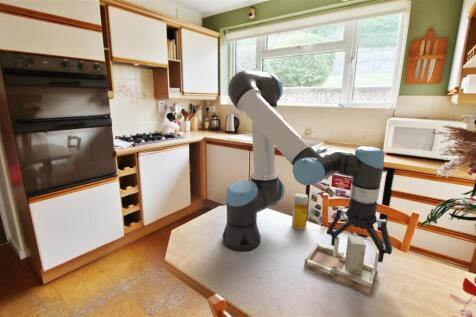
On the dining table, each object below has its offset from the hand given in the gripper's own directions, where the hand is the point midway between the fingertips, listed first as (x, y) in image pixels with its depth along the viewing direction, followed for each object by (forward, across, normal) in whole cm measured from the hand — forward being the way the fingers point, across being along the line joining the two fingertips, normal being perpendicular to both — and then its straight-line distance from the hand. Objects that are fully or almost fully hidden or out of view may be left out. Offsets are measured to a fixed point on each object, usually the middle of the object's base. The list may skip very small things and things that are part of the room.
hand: (354, 261), depth 79 cm
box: (+3, 0, 0) cm, 3 cm away
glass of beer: (+5, -26, +18) cm, 32 cm away
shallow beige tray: (+5, -4, 0) cm, 6 cm away
